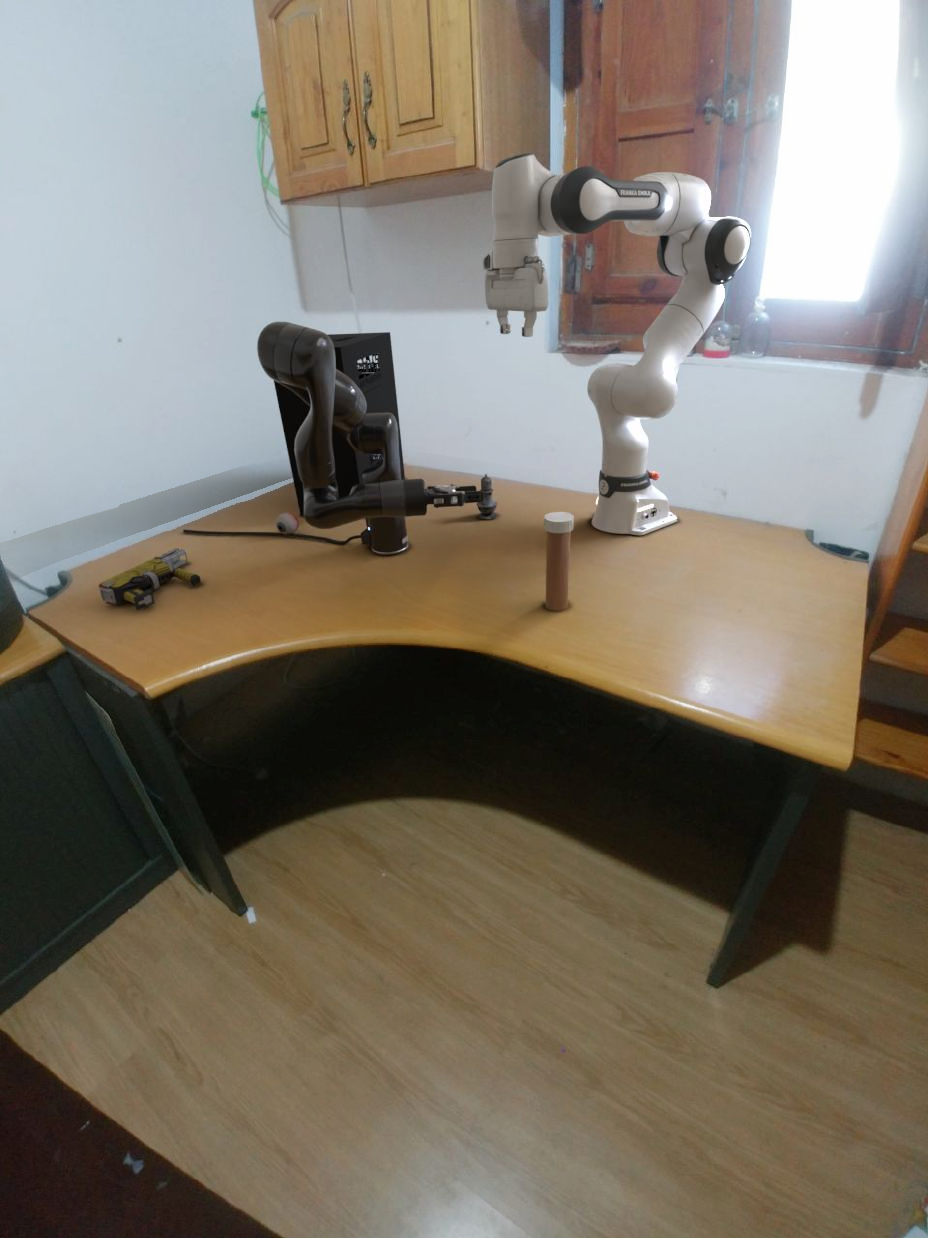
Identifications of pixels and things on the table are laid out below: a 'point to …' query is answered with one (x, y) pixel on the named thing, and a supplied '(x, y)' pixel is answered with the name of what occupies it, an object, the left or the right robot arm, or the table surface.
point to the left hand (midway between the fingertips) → (479, 493)
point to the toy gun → (146, 580)
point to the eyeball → (287, 523)
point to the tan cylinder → (557, 570)
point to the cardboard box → (378, 399)
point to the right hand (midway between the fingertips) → (516, 335)
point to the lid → (559, 522)
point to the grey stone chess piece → (487, 500)
